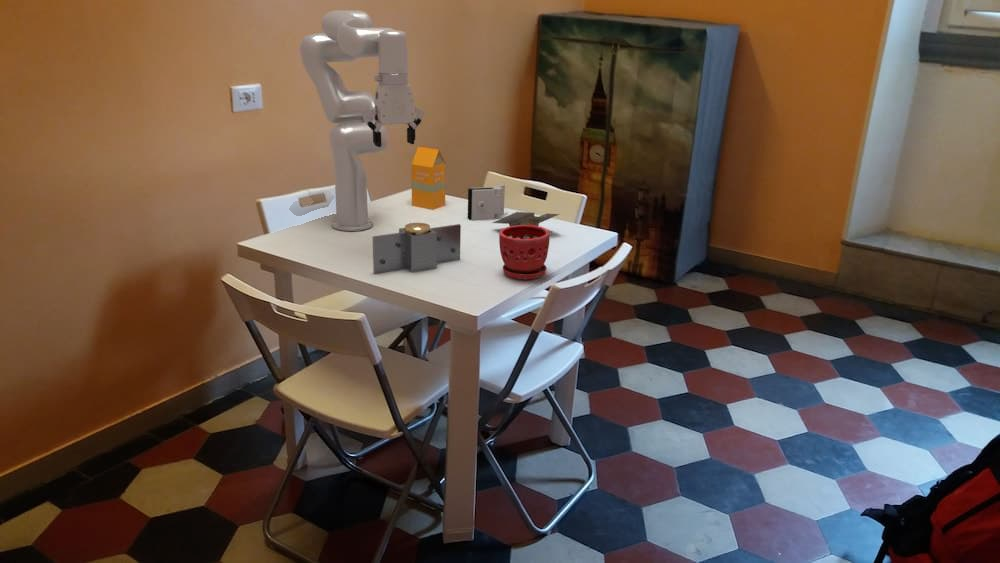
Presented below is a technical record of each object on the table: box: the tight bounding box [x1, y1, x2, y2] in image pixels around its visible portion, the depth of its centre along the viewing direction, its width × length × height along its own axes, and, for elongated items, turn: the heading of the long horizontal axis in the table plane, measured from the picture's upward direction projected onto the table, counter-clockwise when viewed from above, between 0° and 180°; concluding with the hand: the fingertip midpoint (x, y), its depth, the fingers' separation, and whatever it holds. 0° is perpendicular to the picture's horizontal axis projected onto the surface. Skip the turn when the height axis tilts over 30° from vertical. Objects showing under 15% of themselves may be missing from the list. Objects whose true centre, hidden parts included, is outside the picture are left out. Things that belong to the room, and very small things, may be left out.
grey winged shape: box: [492, 211, 560, 227], centre depth 240 cm, size 16×9×15 cm
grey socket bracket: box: [372, 223, 462, 275], centre depth 209 cm, size 8×26×10 cm, turn 122°
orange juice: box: [410, 145, 447, 211], centre depth 264 cm, size 8×9×20 cm
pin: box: [404, 222, 431, 235], centre depth 209 cm, size 7×7×11 cm
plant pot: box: [498, 225, 550, 281], centre depth 206 cm, size 13×13×12 cm
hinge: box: [467, 184, 506, 222], centre depth 255 cm, size 14×5×10 cm, turn 119°
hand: (394, 144), depth 211 cm, fingers open, 9 cm apart
